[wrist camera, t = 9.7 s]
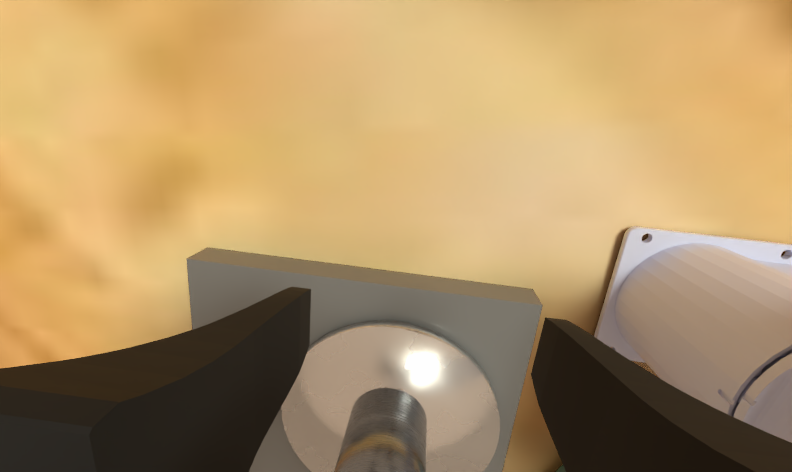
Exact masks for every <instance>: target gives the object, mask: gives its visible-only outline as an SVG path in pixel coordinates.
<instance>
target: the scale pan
mask: <svg viewBox="0 0 792 472" xmlns="http://www.w3.org/2000/svg"><path fill="white" fill-rule="evenodd" d="M378 388H393V389H397V390H401V391H403V392H406V393H408V394H409V395H411V396H412V397H414V398H415V399H416V400H417V401H418V402H419V403H420V404H421V406H422V407H423V409H424V411H425V414H426V418H427V437H426V472H483V471H484V470H485V469H486V467H487V466H488V465H489V463H490V461H491V459H492V457H493V455H494V453H495V451H496V448H497V444H498V441H499V434H500V417H499V412H498V406H497V402H496V397H495V394H494V391H493V388H492V386H491V383H490V381H489V380H488V378H487V376H486V374H485V372H484V371H483V370H482V368H481V367H480V366H479V364H478V363H477V362H476V360H475V359H474V358H473V357H472V356H471V355H470V354H469V353H468V352H467V351H465V350H464V349H463V348H462V347H460V346H459V345H458V344H457V343H455V342H454V341H452V340H450V339H449V338H447V337H445V336H444V335H442V334H439V333H437V332H435V331H433V330H431V329H428V328H425V327H422V326H419V325H416V324H411V323H406V322H401V321H390V320H374V321H365V322H359V323H354V324H350V325H347V326H343V327H341V328H338V329H336V330H334V331H332V332H329V333H328V334H326V335H325V336H323V337H321V338H320V339H318V340H317V341H316V342H315V343H313V344H312V345H311V346H310V347H309V348H308V351H307V354H306V357H305V359H304V362H303V365H302V367H301V370H300V372H299V375H298V376H297V378H296V380H295V382H294V384H293V386H292V388H291V390H290V392H289V393H288V395H287V397H286V399H285V401H284V403H283V404H282V406H281V411H282V421H283V425H284V430H285V433H286V435H287V438H288V440H289V443H290V444H291V446H292V448H293V450H294V452H295V453H296V454H297V456H298V457H299V459H300V460H301V461H302V462H303V464H304V465H305V466H306V467H307V468H308V469H309V470H310V471H311V472H334V470H335V467H336V463H337V460H338V456H339V453H340V449H341V446H342V442H343V439H344V435H345V432H346V428H347V425H348V421H349V417H350V414H351V410H352V407H353V405H354V403H355V402H356V400H357V399H358V398H359V397H360V396H361V395H363V394H364V393H366V392H368V391H370V390H373V389H378Z"/></svg>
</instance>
